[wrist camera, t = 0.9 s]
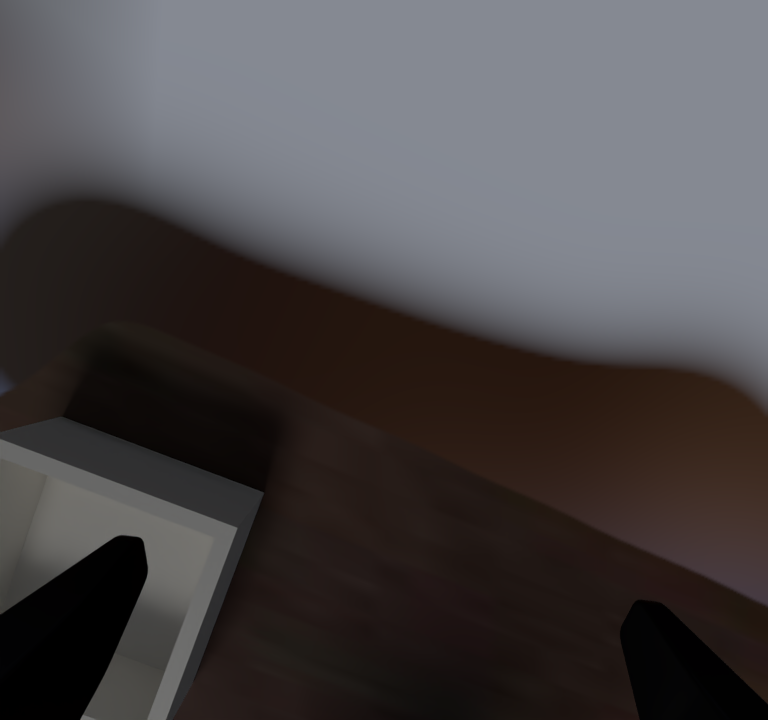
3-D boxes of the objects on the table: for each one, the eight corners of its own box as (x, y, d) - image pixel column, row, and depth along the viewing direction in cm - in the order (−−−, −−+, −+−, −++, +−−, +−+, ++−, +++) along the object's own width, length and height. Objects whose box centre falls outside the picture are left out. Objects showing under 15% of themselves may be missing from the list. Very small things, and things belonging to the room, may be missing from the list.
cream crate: (192, 682, 25) (152, 757, 21) (-5, 610, 25) (-89, 669, 20) (264, 492, 24) (237, 527, 20) (61, 416, 24) (-10, 435, 20)
